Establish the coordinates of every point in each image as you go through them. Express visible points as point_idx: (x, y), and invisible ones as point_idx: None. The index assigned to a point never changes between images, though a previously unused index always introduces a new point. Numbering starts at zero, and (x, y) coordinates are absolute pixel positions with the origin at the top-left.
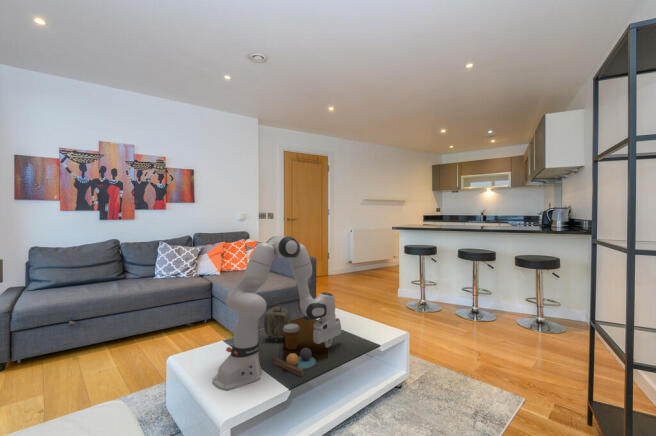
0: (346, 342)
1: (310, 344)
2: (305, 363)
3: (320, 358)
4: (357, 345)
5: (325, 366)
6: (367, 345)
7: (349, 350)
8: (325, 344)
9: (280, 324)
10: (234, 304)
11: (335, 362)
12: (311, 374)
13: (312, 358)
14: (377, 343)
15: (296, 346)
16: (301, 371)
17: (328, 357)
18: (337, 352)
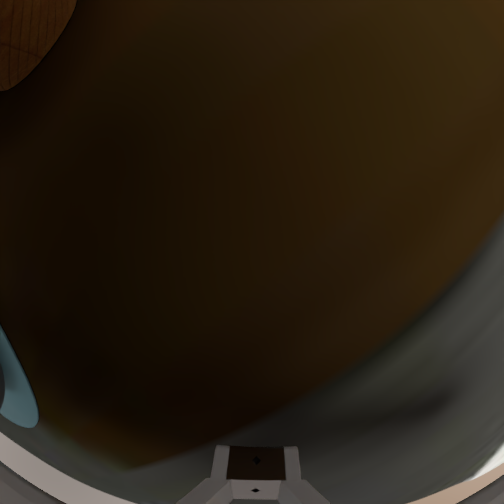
0: (486, 401)
1: (213, 86)
2: None
3: (78, 435)
4: (446, 465)
5: (70, 472)
6: (454, 477)
7: (350, 497)
8: (212, 473)
9: None
10: None
11: (139, 501)
12: (4, 434)
13: (25, 391)
14: (480, 470)
15: (12, 75)
16: None
17: (138, 471)
18: None
